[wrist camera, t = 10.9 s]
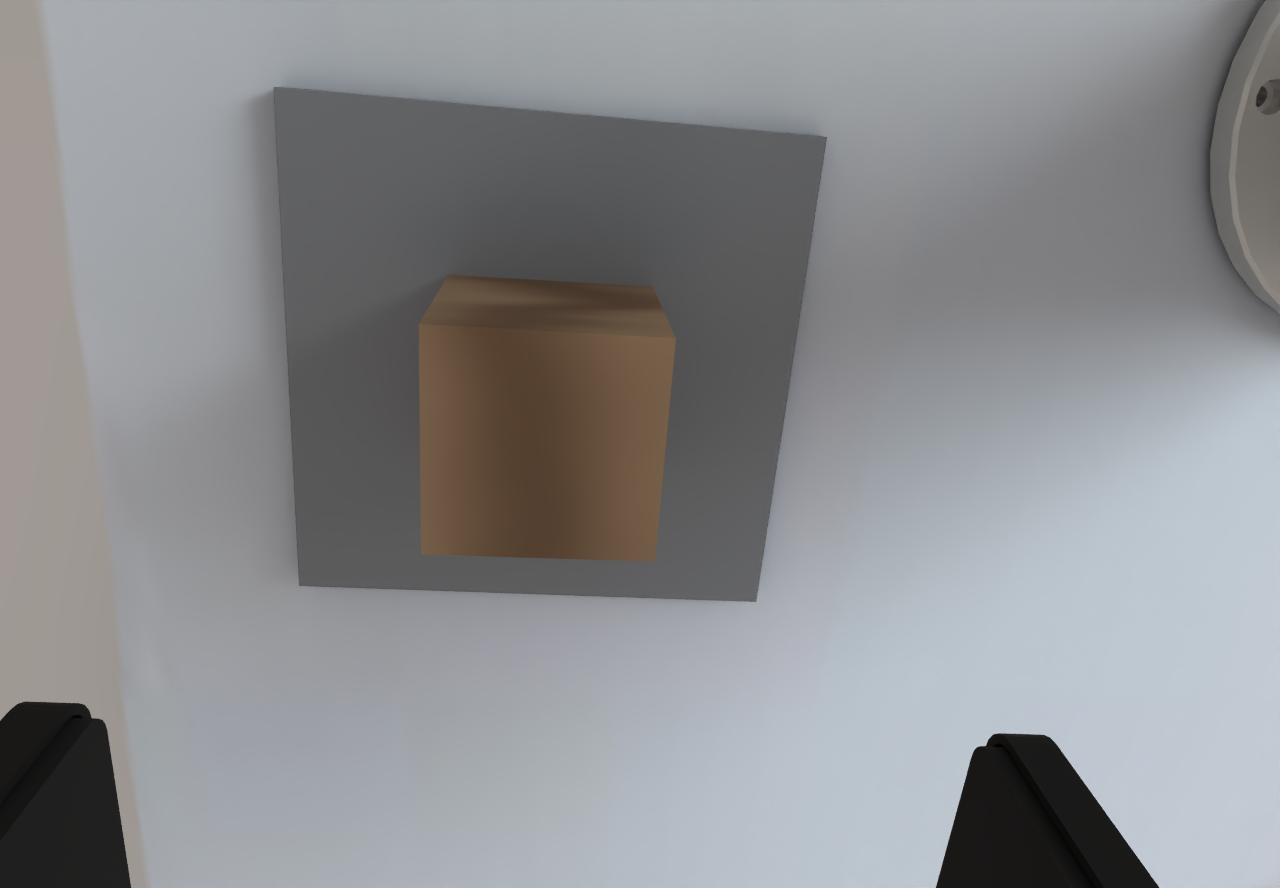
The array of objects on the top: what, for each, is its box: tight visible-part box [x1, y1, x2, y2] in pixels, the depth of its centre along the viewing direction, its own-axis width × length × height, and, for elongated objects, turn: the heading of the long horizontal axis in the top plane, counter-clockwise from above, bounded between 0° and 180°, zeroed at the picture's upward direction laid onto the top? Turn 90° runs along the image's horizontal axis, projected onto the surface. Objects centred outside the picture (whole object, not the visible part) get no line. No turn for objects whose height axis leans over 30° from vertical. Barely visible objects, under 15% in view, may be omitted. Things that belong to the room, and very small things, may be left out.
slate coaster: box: [274, 87, 827, 602], centre depth 26 cm, size 14×14×1 cm
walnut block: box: [419, 274, 676, 562], centre depth 23 cm, size 6×6×6 cm
